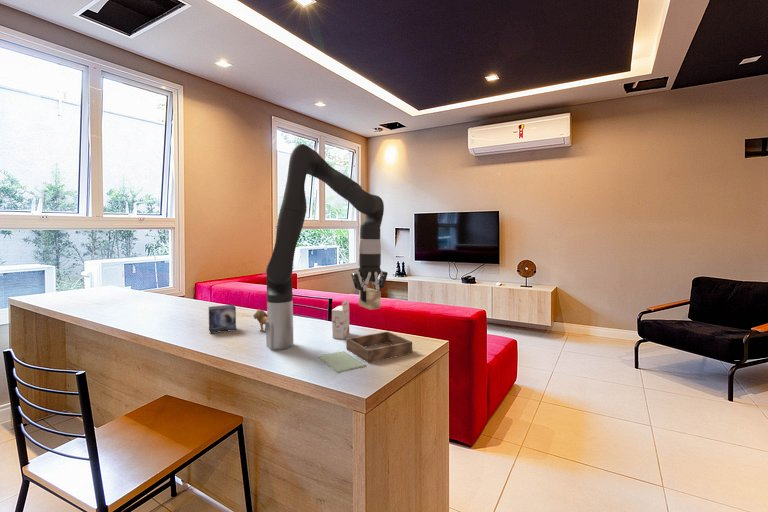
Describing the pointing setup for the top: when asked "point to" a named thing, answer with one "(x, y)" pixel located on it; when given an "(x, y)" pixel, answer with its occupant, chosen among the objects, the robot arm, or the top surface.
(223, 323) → the small box
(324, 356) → the mat
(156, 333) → the top surface
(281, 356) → the top surface
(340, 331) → the ink cartridge box
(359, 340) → the slot box
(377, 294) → the maple block
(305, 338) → the top surface
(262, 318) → the lion figurine
